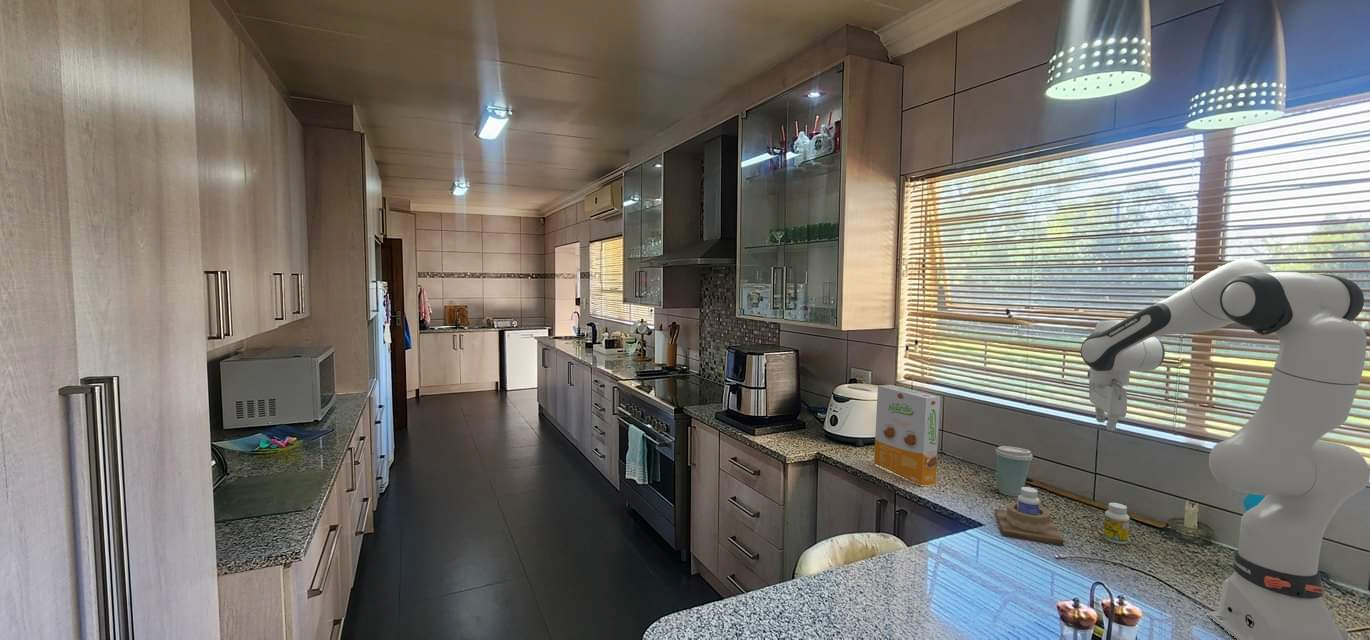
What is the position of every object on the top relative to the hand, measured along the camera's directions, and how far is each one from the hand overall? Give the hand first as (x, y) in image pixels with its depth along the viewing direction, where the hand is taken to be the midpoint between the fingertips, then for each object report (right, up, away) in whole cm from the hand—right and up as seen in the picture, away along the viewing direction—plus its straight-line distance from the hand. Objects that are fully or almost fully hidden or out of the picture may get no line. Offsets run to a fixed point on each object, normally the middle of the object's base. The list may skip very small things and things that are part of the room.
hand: (1105, 425), depth 160 cm
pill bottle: (-22, -27, 0) cm, 35 cm away
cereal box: (-40, -25, +42) cm, 64 cm away
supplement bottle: (-2, -30, -6) cm, 30 cm away
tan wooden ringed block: (-22, -29, 0) cm, 36 cm away
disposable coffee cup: (-11, -27, +27) cm, 40 cm away
